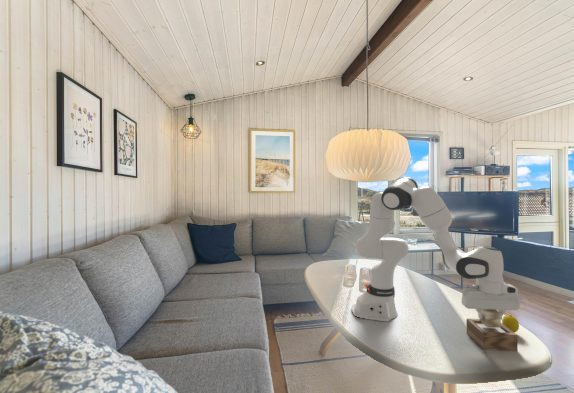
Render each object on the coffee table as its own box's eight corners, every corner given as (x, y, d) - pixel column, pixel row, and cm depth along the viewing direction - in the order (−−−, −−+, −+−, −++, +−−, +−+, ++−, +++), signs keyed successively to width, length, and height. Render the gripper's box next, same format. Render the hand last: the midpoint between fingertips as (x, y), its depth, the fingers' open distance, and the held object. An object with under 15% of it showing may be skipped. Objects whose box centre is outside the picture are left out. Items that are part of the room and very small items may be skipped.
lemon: (501, 333, 112) (501, 315, 112) (503, 328, 116) (502, 310, 116) (518, 338, 108) (518, 319, 108) (519, 332, 112) (519, 314, 112)
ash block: (487, 327, 104) (486, 312, 104) (479, 320, 109) (479, 306, 109) (500, 327, 104) (500, 312, 103) (492, 321, 109) (492, 307, 108)
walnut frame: (483, 349, 101) (483, 333, 101) (466, 332, 113) (466, 318, 113) (517, 350, 100) (517, 335, 100) (496, 333, 112) (496, 319, 112)
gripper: (466, 288, 104) (466, 321, 105) (522, 289, 101) (523, 323, 102) (458, 282, 111) (458, 314, 111) (511, 283, 108) (511, 316, 108)
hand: (490, 318), depth 106 cm, fingers closed on ash block, 5 cm apart
